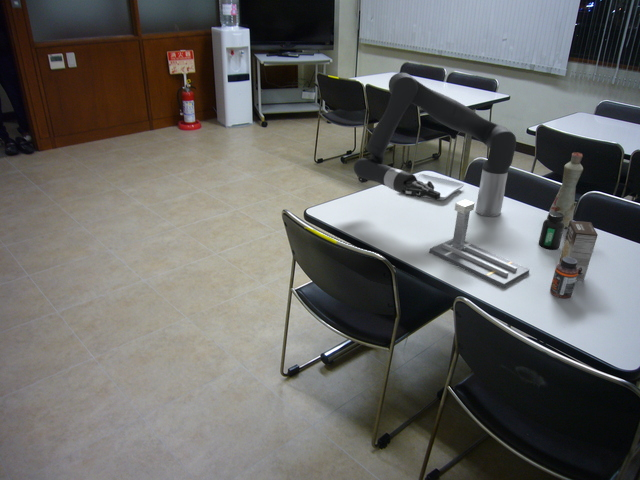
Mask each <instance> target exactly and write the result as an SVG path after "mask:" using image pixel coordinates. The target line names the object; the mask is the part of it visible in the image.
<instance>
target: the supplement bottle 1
mask: <svg viewBox="0 0 640 480" xmlns="http://www.w3.org/2000/svg"><path fill="white" fill-rule="evenodd" d="M547 216H548V219H547V218H546V219H544V221H543V222H542V226H541V230H540V234H539V238H538V246H539V247H540V248H542V249H545V250H547V251H556V250H558V249H560V247H561V243H562V239H563V236H564V232H565V224H564V223H563V222H562V221H563V220H564V215H563V214H562V213H560V212H549V211H548V214H547Z"/></svg>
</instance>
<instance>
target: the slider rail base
mask: <svg viewBox="0 0 640 480" xmlns="http://www.w3.org/2000/svg"><path fill="white" fill-rule="evenodd" d="M452 244H453V238H451V239H448V240H447V241H445V242H442V243H439V244H436V245H435V246H433V247H431V248H429V252H428V253H429V254H431V255H433V256H435V257H437V258H439V259H442V260H443V261H446V262H448V263H450V264H452V265H453V266H454V265H455V266H456V267H458V268H460V269H462V270H464V271H466V272H468V273H471V274H473V275H475V276H476V277H479V278H481V279H483V280H485V281H487V282H489V283H491V284H494V285H496V286H497V287H500V288H501V289H504V288H506V287H508V286H510V285H511V284H512V285H513V283H515V282H516V281H518V280H521V279H522V278H524V277H526V276H527V275H529V273H530V269H529V268H527V267H525V266H523V265H520V264H518V263H515V262H513V261H512V260H509V259H506V258H505V257H502V256H499V255H497V254H496V253H493V252H491V251H488V250H486V249H484V248H481V247H479V246H476V245H474V244H473V243H470V242H468V241H466V240H465V245H464V247H466V249H465V250H464V251H461V250H459V249H456V248H454V247H452V246H451V245H452Z"/></svg>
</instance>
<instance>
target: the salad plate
mask: <svg viewBox="0 0 640 480" xmlns="http://www.w3.org/2000/svg"><path fill="white" fill-rule="evenodd" d="M415 177H416V179H417V181H421V182H423V183H426V184H427V183H428V181H430V182H431V183H432V184H433V186H434V191H437V192H439V193H440V199H437V201H443V200H445V199H447V198H448V197H450V196H451V195H453V194H455V193H456V192H458V191H459V190H461V189H462V188H463V187H464V186H465V183H462V182H459V181H455V180H450V179H447V178H443V177H439V176H434V175H429V174H425V173H420V174H418V175H415ZM424 197H425V196H423V198H424ZM425 198H426V197H425ZM427 198H428V199H433V198H430V197H427ZM433 200H434V199H433Z"/></svg>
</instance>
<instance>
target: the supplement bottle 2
mask: <svg viewBox="0 0 640 480" xmlns="http://www.w3.org/2000/svg"><path fill="white" fill-rule="evenodd" d="M576 265H577V260H576V259H574V258H571V257H563V258H562V261H561V263H559V262H558V263H557V264H556V266H555V270H554V273H553V277H552V282H551V285H550V289H549V290H550V293H551V294H552V295H553V296H555V297H557V298H561V299H568V298H571V296H572V295H573V291H574V288H575V285H576V281H577V280H576V278H577V275H578V268H577V267H576Z"/></svg>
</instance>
